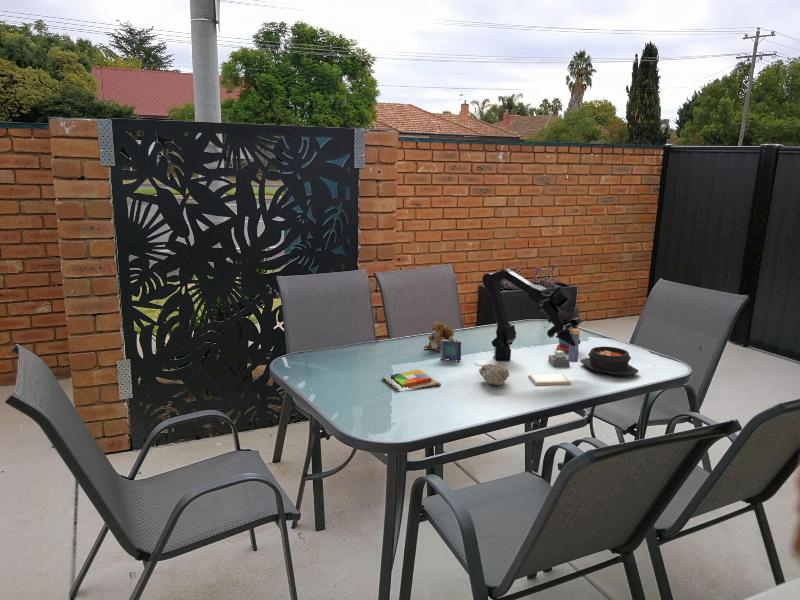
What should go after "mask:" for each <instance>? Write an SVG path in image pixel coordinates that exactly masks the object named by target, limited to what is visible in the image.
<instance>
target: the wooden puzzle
mask: <svg viewBox="0 0 800 600" xmlns="http://www.w3.org/2000/svg"><path fill="white" fill-rule="evenodd" d="M390 376H391V379H393V380H394V381H395V382H396V383H397V384H399V385H400V386H401V387H402V388H403V387H405V388H406V387H408V388H409V389H415V388H420V389H423V388H422V387H424V388H427V387H432V386H439V385H441V386H442V383H441V382H439V381H438V380H436V379H435V378H433V377H432V376H430V375H429V374H427V373H426V372H425V371H423V370H421V369H419V368H418V369H417V368H416V369H414V370H410V371H409V370H408V371H404V372H400V373H399V372H398V373H393V374H391V375H390ZM386 377H387V376H384V375H382V376H381V378H382V380H384V379H385V380H386V381H385V380H384V381H385V382H386V383H387V384H389V385H390V384H391V385H392V386H391V385H390V386H391V387H392V388H394V389H395V390H396V389H397V390H400V389H399V388H398V387H397V386H396V385H394V384H393V383H392V382H391V381H389V380H388V379H387V378H386ZM397 390H396V391H397Z"/></svg>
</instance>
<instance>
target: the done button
mask: <svg viewBox="0 0 800 600" xmlns="http://www.w3.org/2000/svg"><path fill="white" fill-rule="evenodd" d="M553 355H554V358H555V359H564V355H565V353H564V351H560V350H556V349H555V350H554V354H553Z"/></svg>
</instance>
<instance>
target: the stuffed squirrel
mask: <svg viewBox="0 0 800 600" xmlns="http://www.w3.org/2000/svg"><path fill="white" fill-rule="evenodd" d="M430 332H432V334H430V335H428V339H427V340H429V342H428V344H427V345H425V346H424V347H423V349H424V348H427V349H429V350H433V349H437V350H438V351H437V350H436V351H437V352H439V351H441V340H450V338H449V337H451V336H453V337H455V336H454V332H455V330H453V329H452V328H451V327H447V324H443V323H441V322H437V321H434V322H433V326H432V328H431V329H430Z"/></svg>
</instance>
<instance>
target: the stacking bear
mask: <svg viewBox="0 0 800 600" xmlns="http://www.w3.org/2000/svg"><path fill="white" fill-rule="evenodd" d="M576 318H578V317H576ZM574 319H575V318H574ZM571 320H572V319H571ZM568 323H569V322H568ZM577 329H579V328H578V327H577ZM556 350H560V351H564V354H569V344H568V343H567V342H565V341H563V340H561V339H559V338H558V344H557V345H556V348H555V351H556Z"/></svg>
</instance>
